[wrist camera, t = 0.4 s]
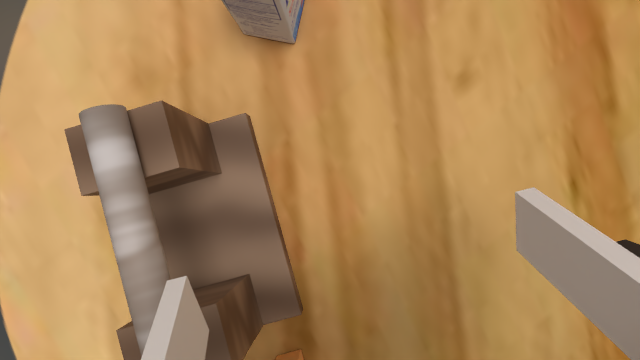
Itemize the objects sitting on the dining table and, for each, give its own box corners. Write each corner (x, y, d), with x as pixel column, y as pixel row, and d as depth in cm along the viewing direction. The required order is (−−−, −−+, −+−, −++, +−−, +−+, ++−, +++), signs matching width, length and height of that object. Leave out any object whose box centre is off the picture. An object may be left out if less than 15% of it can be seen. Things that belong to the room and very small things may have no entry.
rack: (303, 309, 34) (279, 376, 21) (160, 347, 34) (58, 434, 22) (249, 116, 34) (197, 75, 22) (110, 157, 35) (-16, 139, 23)
